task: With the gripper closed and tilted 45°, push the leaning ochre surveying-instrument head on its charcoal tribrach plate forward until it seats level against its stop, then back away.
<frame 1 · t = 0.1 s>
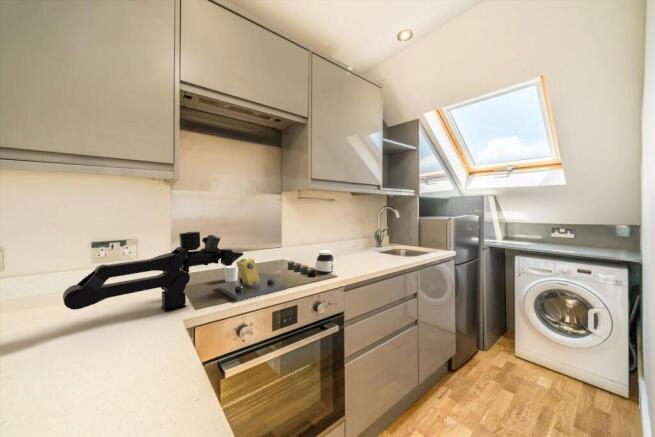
hand: (237, 252, 110), 17 cm above the worktop, tool horizontal, fingers open, 9 cm apart
instrument head: (248, 270, 110), point 8 cm above the worktop, hinge at -16.0°
white cup: (231, 280, 126), on the worktop
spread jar: (323, 271, 142), on the worktop
tribrach plate: (251, 288, 112), on the worktop
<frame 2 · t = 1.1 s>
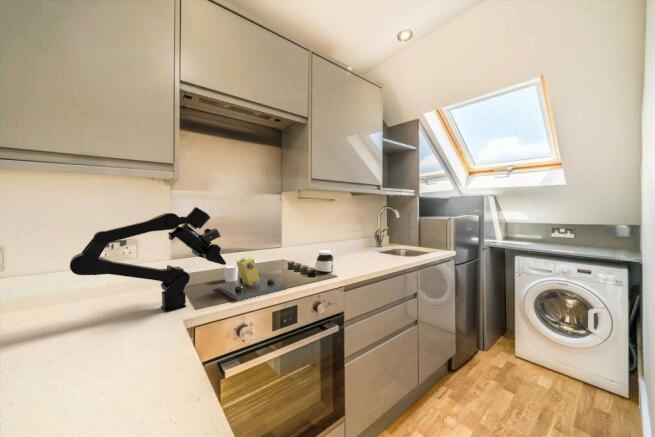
hand: (221, 262, 103), 14 cm above the worktop, tool tilted 45°, fingers open, 7 cm apart
nothing on the worktop moved.
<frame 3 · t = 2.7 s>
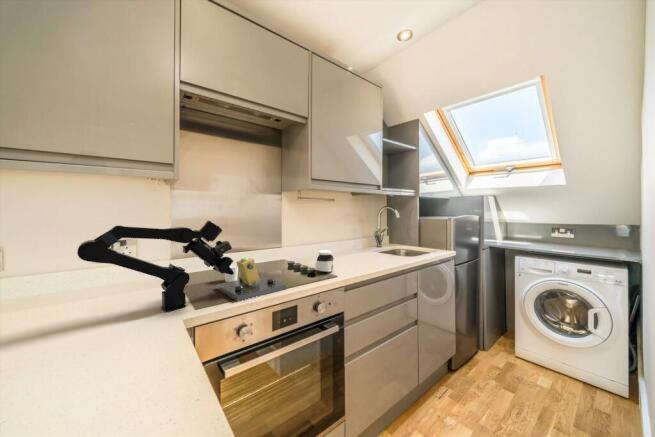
hand: (232, 273, 106), 8 cm above the worktop, tool tilted 45°, fingers closed
nothing on the worktop moved.
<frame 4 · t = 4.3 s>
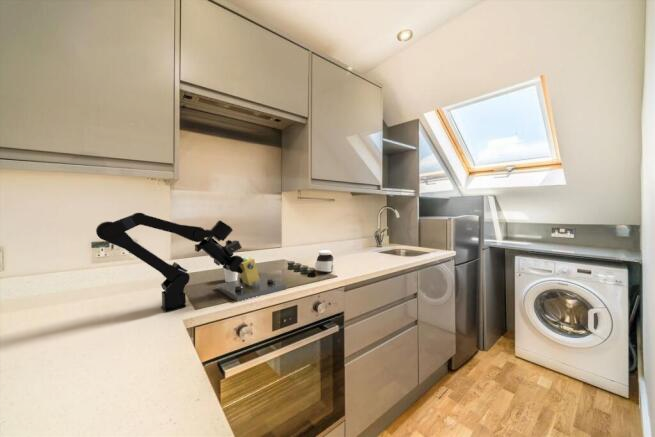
hand: (241, 272, 109), 8 cm above the worktop, tool tilted 45°, fingers closed, pressing on instrument head
instrument head: (248, 270, 111), point 8 cm above the worktop, hinge at -15.1°, touching gripper
everything else where it was.
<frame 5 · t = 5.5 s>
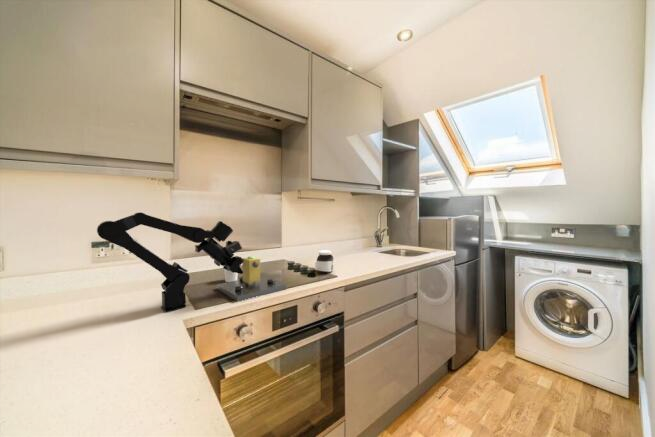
hand: (242, 273, 109), 8 cm above the worktop, tool tilted 45°, fingers closed
instrument head: (251, 269, 111), point 9 cm above the worktop, hinge at 1.1°
everything else where it was.
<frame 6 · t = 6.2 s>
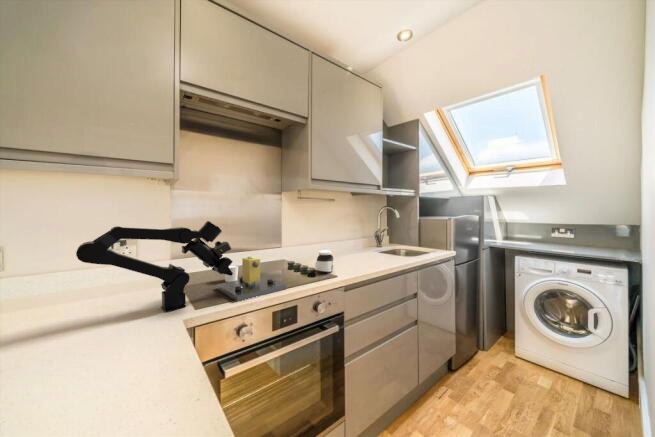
hand: (231, 274, 106), 8 cm above the worktop, tool tilted 45°, fingers closed
nothing on the worktop moved.
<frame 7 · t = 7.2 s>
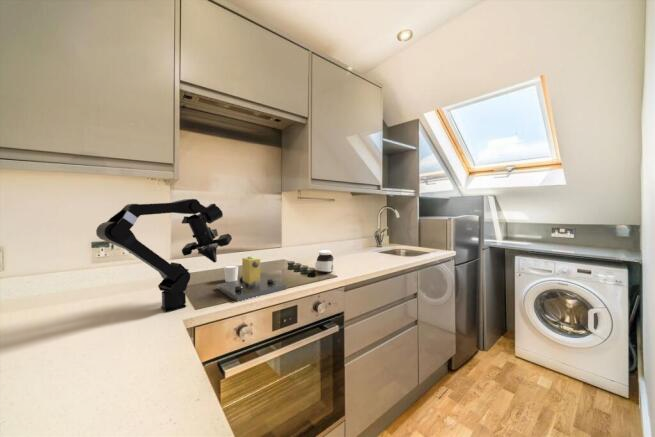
hand: (215, 261, 106), 13 cm above the worktop, tool tilted 25°, fingers closed
nothing on the worktop moved.
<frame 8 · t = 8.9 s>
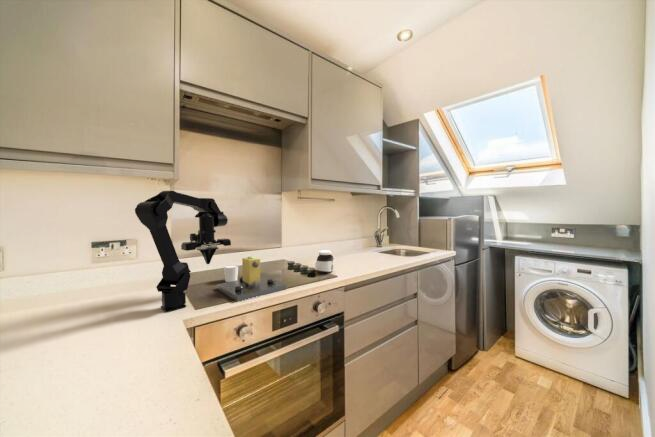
hand: (207, 264, 108), 12 cm above the worktop, tool pointing down, fingers closed
nothing on the worktop moved.
at the end: instrument head at +1° (first picture: -16°); white cup moved 0.2 cm from its start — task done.
